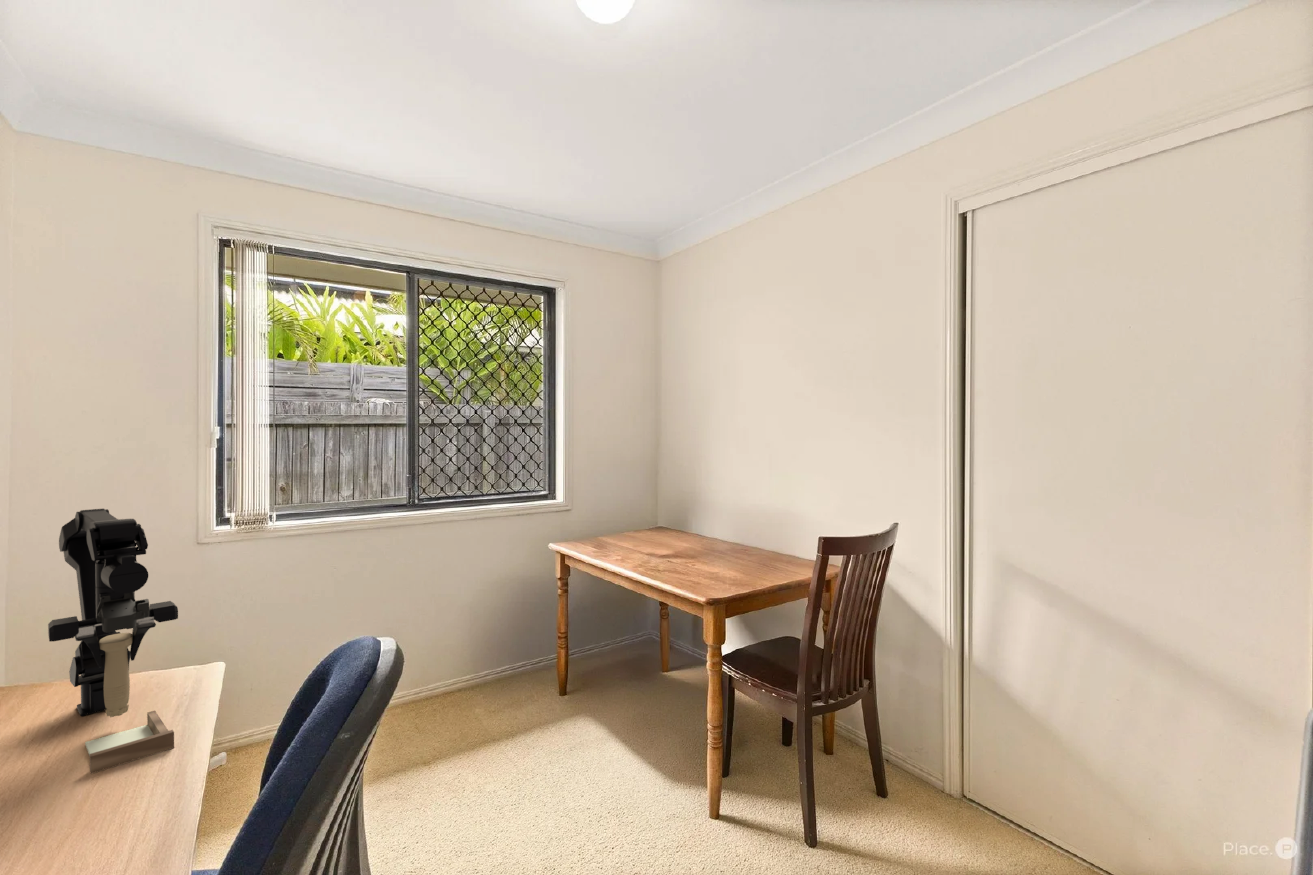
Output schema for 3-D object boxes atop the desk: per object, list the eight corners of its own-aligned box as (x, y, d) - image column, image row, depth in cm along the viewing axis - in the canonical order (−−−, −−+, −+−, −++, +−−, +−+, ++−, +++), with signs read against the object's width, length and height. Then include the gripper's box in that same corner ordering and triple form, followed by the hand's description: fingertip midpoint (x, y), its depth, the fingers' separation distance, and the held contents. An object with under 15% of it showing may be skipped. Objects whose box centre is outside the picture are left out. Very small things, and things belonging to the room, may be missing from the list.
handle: (97, 723, 116) (96, 645, 116) (103, 710, 122) (102, 635, 121) (130, 717, 119) (130, 640, 119) (135, 704, 124) (134, 631, 124)
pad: (85, 745, 114) (85, 741, 114) (147, 727, 121) (147, 724, 121) (94, 769, 106) (94, 766, 106) (160, 749, 113) (160, 745, 113)
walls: (81, 746, 114) (80, 730, 114) (159, 724, 122) (158, 709, 122) (90, 773, 105) (90, 756, 105) (174, 747, 114) (174, 731, 114)
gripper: (49, 602, 108) (51, 690, 108) (182, 583, 121) (183, 661, 121) (47, 590, 115) (48, 672, 116) (172, 573, 129) (173, 646, 129)
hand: (116, 663), depth 120 cm, fingers closed on handle, 4 cm apart
